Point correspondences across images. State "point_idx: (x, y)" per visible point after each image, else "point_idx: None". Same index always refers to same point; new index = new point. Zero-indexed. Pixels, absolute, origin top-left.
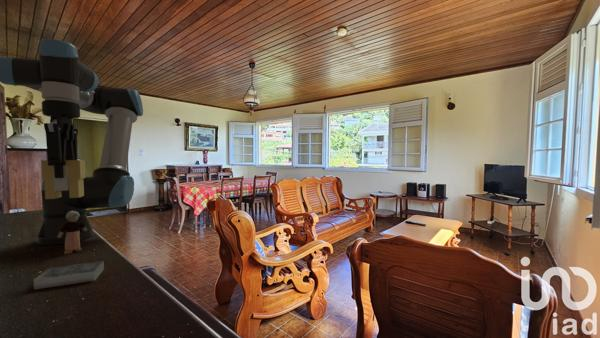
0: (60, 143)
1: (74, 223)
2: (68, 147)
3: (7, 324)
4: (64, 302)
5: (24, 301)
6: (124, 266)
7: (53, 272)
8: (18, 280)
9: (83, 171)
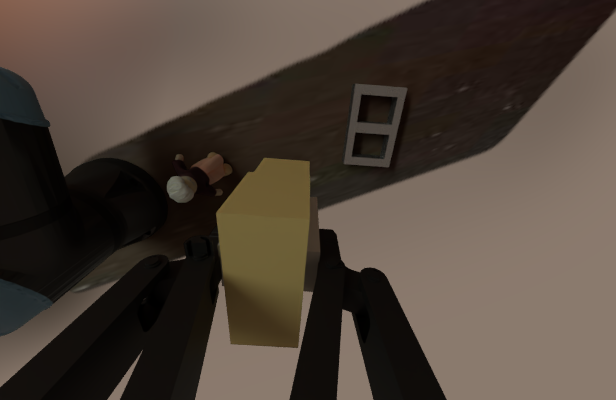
0: (410, 393)
1: (195, 178)
2: (188, 365)
3: (476, 154)
4: (458, 111)
5: (419, 160)
6: (357, 46)
7: (352, 155)
8: (335, 193)
9: (263, 185)
